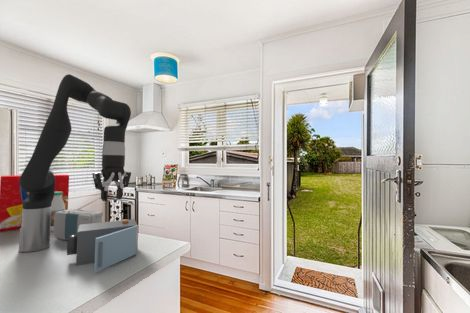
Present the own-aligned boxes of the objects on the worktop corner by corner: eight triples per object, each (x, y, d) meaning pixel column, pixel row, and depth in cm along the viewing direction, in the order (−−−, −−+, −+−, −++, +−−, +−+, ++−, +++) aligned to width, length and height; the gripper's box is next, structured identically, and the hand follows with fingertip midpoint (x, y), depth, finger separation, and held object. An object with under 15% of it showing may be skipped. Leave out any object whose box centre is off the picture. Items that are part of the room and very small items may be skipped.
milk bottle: (48, 228, 121) (50, 191, 121) (66, 226, 124) (67, 190, 125) (43, 232, 114) (45, 193, 114) (62, 230, 117) (64, 192, 118)
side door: (97, 272, 74) (99, 239, 74) (93, 271, 75) (95, 238, 75) (139, 253, 90) (140, 225, 90) (135, 252, 90) (136, 225, 91)
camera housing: (65, 267, 79) (67, 230, 79) (69, 256, 87) (70, 223, 88) (136, 254, 91) (137, 222, 91) (133, 246, 99) (134, 216, 100)
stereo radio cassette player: (52, 240, 104) (54, 197, 104) (69, 234, 112) (70, 194, 112) (88, 245, 99) (90, 200, 100) (103, 239, 107) (105, 197, 108)
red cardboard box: (-3, 232, 112) (0, 176, 113) (-1, 228, 118) (1, 175, 119) (67, 223, 132) (69, 175, 132) (65, 220, 137) (67, 174, 138)
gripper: (100, 153, 76) (98, 204, 75) (137, 155, 88) (135, 198, 88) (87, 153, 79) (85, 201, 79) (124, 154, 92) (123, 196, 91)
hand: (112, 199), depth 83 cm, fingers open, 5 cm apart
